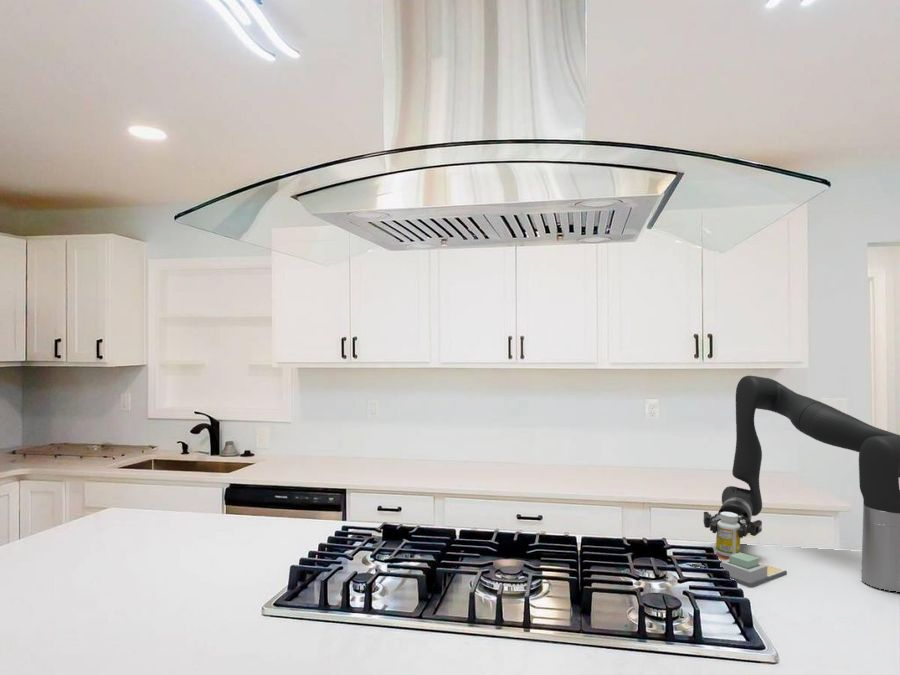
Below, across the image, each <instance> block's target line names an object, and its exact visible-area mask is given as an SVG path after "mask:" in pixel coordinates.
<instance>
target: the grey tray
mask: <svg viewBox="0 0 900 675" xmlns="http://www.w3.org/2000/svg"><path fill="white" fill-rule="evenodd" d="M714 553H716V554H717V555H718V557H719V559H720V560H721V561H722V562H721V563H720V567H723V568H724V569H725V570H727V571H729V573H730V578H731V579H734V580H736V581H737V582H736V583H737V584H740V585H743V586H746V587H749V588H754V587H756V586H760V585H762V584H765V583H767V582H770V581H774V580H775V579H779V578H781V577H784V576H786V575H788V574H787V573H788V571H787V570H785V569H781V568H779V567H776V566H773V565H769V564H766V563H763V562H759V566H758V567H755V568H752V569H749V570H748V569H745V568H742V567H739V566H736V565H733V564H730V563H729V556H725V555H721V554H719V553H718V552H717V551H715V552H714ZM693 566H694V567H693ZM691 567H693V568H696V567H700V568H704V567H705V566H704V565H702V564H692V566H691Z"/></svg>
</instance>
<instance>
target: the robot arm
mask: <svg viewBox="0 0 900 675" xmlns="http://www.w3.org/2000/svg"><path fill="white" fill-rule="evenodd" d="M756 409H758V410H763V411H769V412H772V413H776V414H779V415H781V416H783V417H785V418H787V419H788V420H789V421H790V423H791V424H792V426H794V427H795V429H796V430H798V431H799V432H800V433H802V434H804V435H806V436H808V437H810V438H811V439H814V440H815V441H818V442H820V443H823V444H825V445H829V446H833V447H837V448H841V449H843V450H849V451H853V452H857V453H858V471H859V472H858V474H859V475H858V479H859V480H858V481H859V490H860V494H861V495H862V496H861V497H862V499H863V500H862V502H863V505H862V509H863V510H862V536H861V537H862V542H861V544H862V545H861V547H862V548H861V549H862V550H861V569H860V570H861V571H860V572H861V573H860V574H861V579H862V580H861V581H862V583H864V584H865V583H866V584H865V585H867V584H868V585H867V586H869V585H870V587H872V586H873V587H872V588H874V587H876V588H875V589H877V588H879V590H881V589H884V590H883V591H885V590H889V591H888V592H890V591H896V592H895V593H897V592H900V480H899V479H900V434H897V433H894V432H891V431H889V430H884V429H881V428H879V427H877V426H874V425H871V424H869V423H867V422H864V421H862V420H860V419H858V418H856V417H854V416H853V415H850V414H848V413H845V412H844V411H841V410H839V409H837V408H835V407H833V406H831V405H828V404H826V403H824V402H822V401H819V400H817V399H814V398H811V397H808V396H806V395H804V394H803V395H802V394H799V393H797V392H795V391H793V389H792V390H791V389H790V388H788V387H787V386H785V385H784V384H782V383H780V382H779V381H777V380H774V379H772V378H769V377H764V376H763V377H762V376H757V375H745V376H743V377H741V378H740V380H739V381H738V383H737V385H736V390H735V426H736V427H735V430H736V431H735V432H736V436H735V437H736V438H735V440H736V441H735V452H734V457H733V465H732V473H731V474H732V476H733V477H734V478H735V479H737V480H739V481H742V482H744V483H746V484H747V486H748V487H749V489H747V488H744V487H743V488H742V487H738V486H733V485H729V486H727V487H725V488H724V489H723V491H722V493H721V504H722V505H721V506H720V508H719V511H718V512H717V513H715V514H714V515H712V514H711V513H709V511H703V520H702V521H703V522H702V523H703V526H704V528H706V529H709V531H711V532H712V534H717V522H718V521H720V520H721V519H720V513H721V512H732V513H735V514H737V515H738V521H737V523H738V524H739V525H740V529H739V538H740V539H743V538H744V537H747V536H748V534H749V535H751V536H752V537H755V536H757V535H759V534H760V533H762V530H763V529H762V528H763V522H762V520H760V519H757V520H753V521H751V520H752V517H756V516H758V515H759V514H760V513H761V512H762V509H763V500H762V499H763V498H762V494H761V488H760V473H761V467H762V460H763V451H762V446H761V442H760V439H759V437H758V433H757V430H756V425H755V414H756Z"/></svg>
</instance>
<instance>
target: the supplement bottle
mask: <svg viewBox="0 0 900 675" xmlns="http://www.w3.org/2000/svg"><path fill="white" fill-rule="evenodd" d="M720 519H721V520H720V521H718V522H717V532H716V538H715V539H716V541H715V552H718V553H719V554H721V555H725V556H730V555H733V554H736V553H739V552H741V538H739V529H740V525H739V524H738V523H737V521H738V515H737V514H735V513H732V512H721V513H720Z"/></svg>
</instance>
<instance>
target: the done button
mask: <svg viewBox="0 0 900 675" xmlns="http://www.w3.org/2000/svg"><path fill="white" fill-rule="evenodd" d="M759 560H760V558H759V557H757V556H753V555H750V554H747V553H743V552H741V551H740V552H739V553H736V554H733V555H730V556H729V563H730V564H733V565H736V566H739V567H742V568H745V569H748V570H749V569H752V568H755V567H758V566H759Z"/></svg>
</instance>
